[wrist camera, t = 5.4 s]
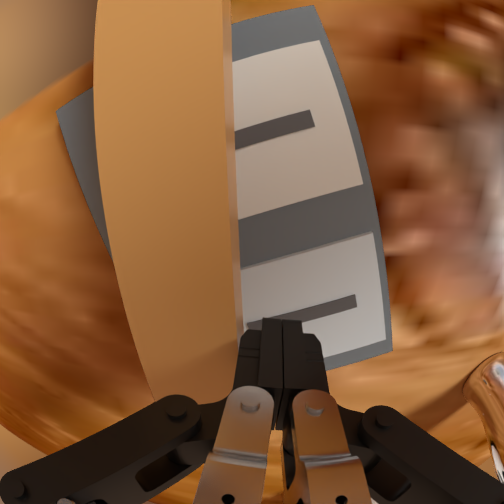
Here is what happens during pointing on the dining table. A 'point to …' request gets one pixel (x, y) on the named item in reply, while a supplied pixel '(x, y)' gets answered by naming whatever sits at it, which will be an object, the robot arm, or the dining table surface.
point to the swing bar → (171, 186)
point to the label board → (288, 188)
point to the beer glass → (490, 405)
